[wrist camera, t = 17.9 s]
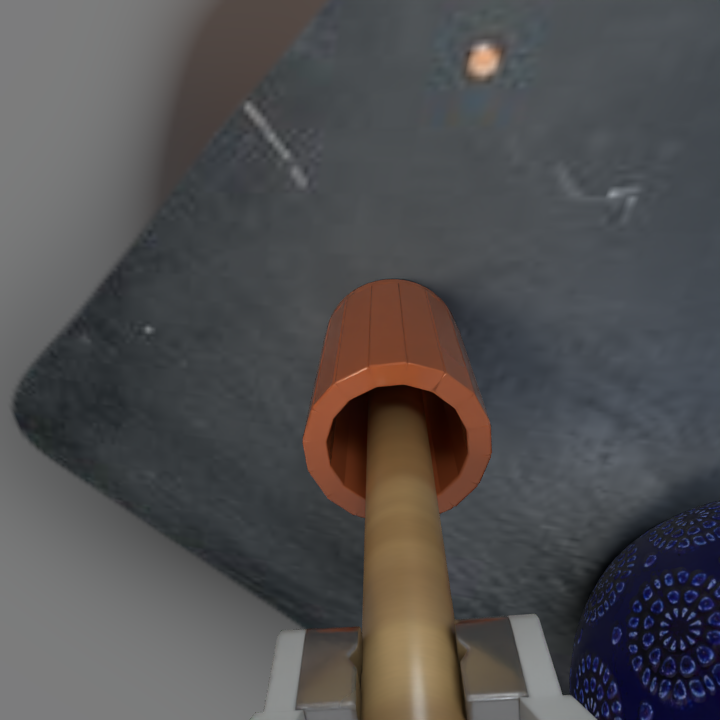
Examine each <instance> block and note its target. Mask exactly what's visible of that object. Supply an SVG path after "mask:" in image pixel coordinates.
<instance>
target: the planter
mask: <svg viewBox="0 0 720 720" xmlns="http://www.w3.org/2000/svg"><path fill="white" fill-rule="evenodd" d="M570 695H572V696H573V697H574V698H575V699H576V700H577V701H578V702H579V703H580V704H581V705H582V706H583V707H584V708H585V709H587V710H588V711H589V712H590V713H591V714H592V715H593V716H594V717H595V718H596V719H597V720H720V500H719V501H715V502H712V503H708V504H705V505H702V506H699V507H696V508H693V509H690V510H688V511H685V512H683V513H681V514H678V515H676V516H674V517H672V518H670V519H668V520H666V521H664V522H662V523H660V524H659V525H657V526H655V527H653V528H652V529H650V530H649V531H647V532H646V533H644V534H643V535H641V536H640V537H639V538H637V539H636V540H635V541H633V542H632V543H631V544H630V545H629V546H627V547H626V548H625V549H624V550H623V551H622V552H621V553H620V554H619V555H618V556H617V557H616V558H615V559H614V560H613V561H612V563H611V564H610V565H609V566H608V567H607V569H606V570H605V571H604V573H603V574H602V576H601V577H600V579H599V580H598V582H597V584H596V586H595V587H594V589H593V591H592V593H591V595H590V596H589V598H588V600H587V602H586V605H585V607H584V610H583V613H582V616H581V619H580V622H579V626H578V629H577V632H576V636H575V640H574V646H573V653H572V661H571V669H570Z"/></svg>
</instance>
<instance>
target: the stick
mask: <svg viewBox="0 0 720 720" xmlns="http://www.w3.org/2000/svg"><path fill="white" fill-rule="evenodd" d="M454 620H455V619H454V612H453V605H452V598H451V591H450V584H449V577H448V570H447V563H446V556H445V549H444V543H443V536H442V529H441V522H440V515H439V508H438V501H437V494H436V487H435V480H434V473H433V466H432V459H431V452H430V445H429V438H428V431H427V424H426V417H425V410H424V403H423V396H422V389H419V388H415V387H411V386H407V385H394V386H384V387H376V388H374V389H372V390H370V391H368V428H367V466H366V505H365V543H364V582H363V620H362V638H363V670H362V674H361V694H362V704H361V720H466V714H465V707H464V700H463V693H462V682H461V669H460V667H459V665H458V658H457V650H456V642H455V635H454Z"/></svg>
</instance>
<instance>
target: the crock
mask: <svg viewBox="0 0 720 720" xmlns="http://www.w3.org/2000/svg"><path fill="white" fill-rule="evenodd" d="M394 385H407V386H411V387H415V388H419V389H422V396H423V403H424V410H425V417H426V424H427V431H428V438H429V445H430V452H431V459H432V466H433V473H434V480H435V487H436V494H437V501H438V508H439V514H440V513H443V512H445V511H447V510H450V509H452V508H453V507H454V506H457V505H458V504H459V503H460V502H461V501H462V500H463V499H464V498H465V497H466V496H467V495H468V494H470V493H471V492H472V491H473V490H474V489H475V488H476V487H477V485H478V484H479V483H480V481H481V478H482V476H483V474H484V472H485V469H486V467H487V465H488V463H489V460H490V458H491V453H492V441H491V424H490V420H489V417H488V414H487V411H486V408H485V405H484V402H483V399H482V396H481V394H480V391H479V388H478V385H477V382H476V379H475V376H474V373H473V370H472V367H471V364H470V361H469V358H468V355H467V352H466V350H465V347H464V344H463V341H462V338H461V335H460V332H459V329H458V327H457V325H456V323H455V320H454V318H453V316H452V314H451V312H450V310H449V309H448V307H447V305H446V304H445V303H444V302H443V301H442V299H440V298H439V297H438V296H437V295H436V294H435V293H433V292H432V291H431V290H429V289H428V288H426V287H424V286H422V285H420V284H417V283H414V282H411V281H406V280H399V279H385V280H379V281H374V282H371V283H368V284H365V285H363V286H361V287H359V288H357V289H356V290H354V291H352V292H351V293H350V294H349V295H347V296H346V297H345V298H344V299H343V300H342V301H341V302H340V303H339V305H338V306H337V307H336V309H335V310H334V312H333V314H332V316H331V318H330V320H329V323H328V326H327V331H326V335H325V338H324V342H323V347H322V351H321V356H320V361H319V365H318V370H317V374H316V379H315V384H314V388H313V393H312V397H311V402H310V407H309V411H308V416H307V421H306V425H305V430H304V434H303V441H302V442H303V448H304V453H305V458H306V464H307V469H308V471H309V473H310V474H311V476H312V477H313V478H314V480H315V481H316V483H317V484H318V486H319V487H320V488H321V490H322V491H323V493H324V494H325V495H326V496H327V498H328V499H329V500H331V501H332V502H334V503H335V504H337V505H339V506H340V507H342V508H343V509H345V510H346V511H348V512H349V513H351V514H352V515H356V516H359V517H363V518H365V505H366V466H367V428H368V391H370V390H372V389H374V388H376V387H384V386H394Z"/></svg>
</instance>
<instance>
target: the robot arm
mask: <svg viewBox="0 0 720 720" xmlns="http://www.w3.org/2000/svg"><path fill="white" fill-rule="evenodd" d="M454 635H455V642H456V650H457V658H458V665H459V667H460V669H461V682H462V693H463V700H464V707H465V714H466V720H597V719H596V718H595V717H594V716H593V715H592V714H591V713H590V712H589V711H588V710H587V709H585V708H584V707H583V706H582V705H581V704H580V703H579V702H578V701H577V700H576V699H575V698H574V697H573V696H572V695H562V692H561V688H560V685H559V682H558V679H557V676H556V672H555V669H554V666H553V663H552V659H551V656H550V653H549V650H548V646H547V643H546V640H545V637H544V634H543V630H542V627H541V624H540V621H539V618H538V617H537V615H536V614H526V615H512V616H508V617H507V616H494V617H482V618H469V619H456V620H454ZM362 670H363V638H362V632H361V628H360V627H339V628H313V629H298V630H281V631H280V633H279V636H278V638H277V642H276V647H275V653H274V658H273V663H272V668H271V674H270V679H269V684H268V690H267V695H266V700H265V706H264V711H263V712H257V713H255V714H254V715H253V716H252V717H251V718H250V720H361V704H362V694H361V674H362Z"/></svg>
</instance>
